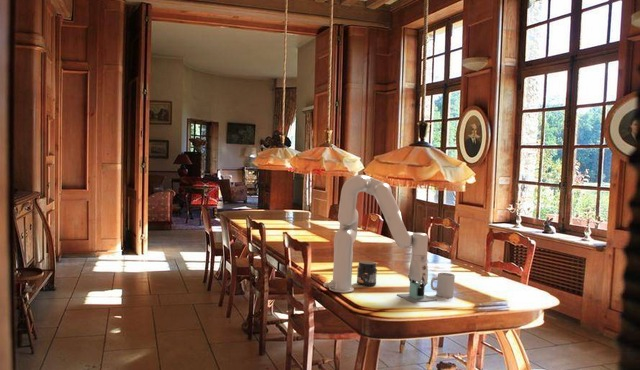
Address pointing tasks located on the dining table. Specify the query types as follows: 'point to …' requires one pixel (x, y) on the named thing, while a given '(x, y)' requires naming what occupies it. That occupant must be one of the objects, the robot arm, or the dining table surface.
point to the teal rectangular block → (414, 291)
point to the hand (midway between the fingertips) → (416, 293)
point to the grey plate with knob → (413, 300)
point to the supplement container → (366, 273)
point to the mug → (444, 285)
